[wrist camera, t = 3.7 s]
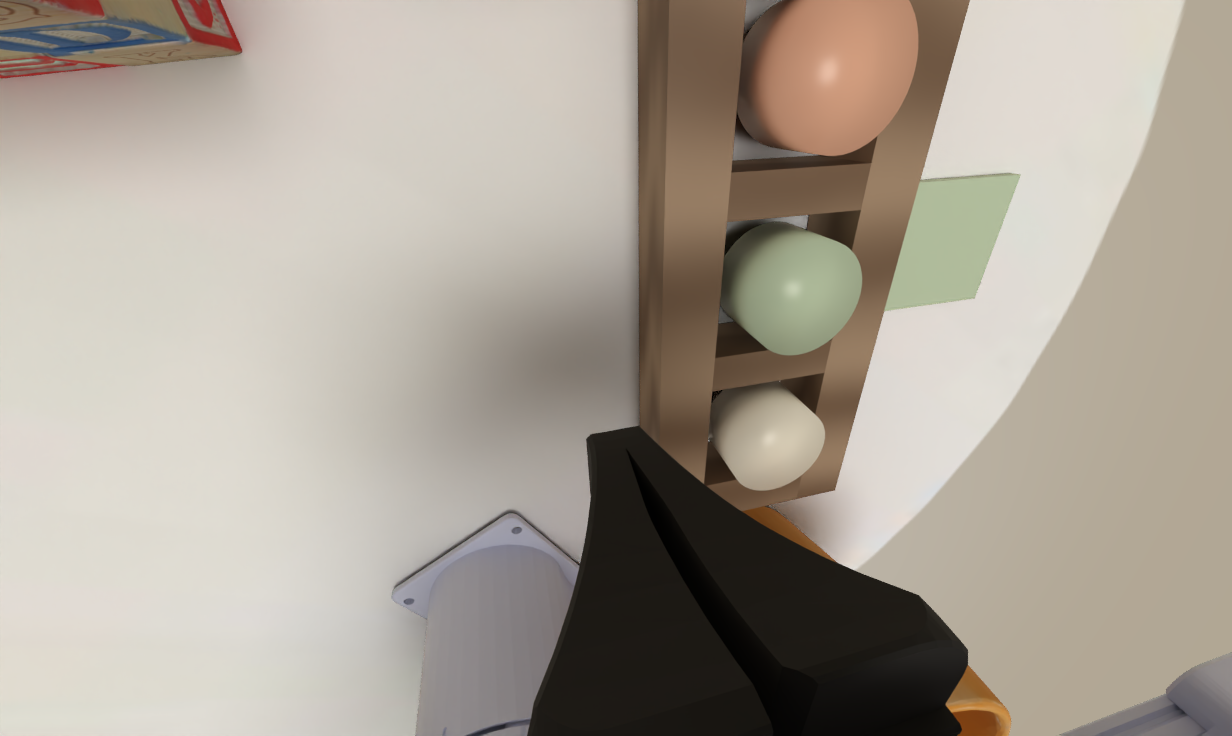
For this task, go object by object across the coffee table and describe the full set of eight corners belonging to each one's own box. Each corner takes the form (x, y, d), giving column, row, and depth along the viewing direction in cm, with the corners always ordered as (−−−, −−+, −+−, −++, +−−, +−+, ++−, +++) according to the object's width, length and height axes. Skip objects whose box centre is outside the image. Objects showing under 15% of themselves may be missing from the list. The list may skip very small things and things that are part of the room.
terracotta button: (836, 145, 17) (894, 152, 15) (727, 151, 17) (770, 160, 14) (864, -4, 15) (938, -25, 13) (740, -6, 14) (794, -29, 12)
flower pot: (571, 578, 28) (630, 886, 17) (757, 426, 26) (965, 667, 15) (699, 645, 35) (799, 890, 24) (853, 530, 33) (1041, 744, 22)
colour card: (966, 295, 25) (974, 298, 24) (868, 308, 24) (875, 312, 23) (1010, 173, 22) (1020, 174, 21) (901, 181, 21) (909, 183, 20)
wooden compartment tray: (802, 454, 28) (834, 490, 25) (639, 488, 26) (657, 530, 23) (922, -99, 16) (1007, -138, 13) (637, -117, 14) (673, -167, 11)
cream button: (781, 442, 24) (815, 480, 22) (702, 457, 23) (728, 499, 21) (795, 369, 22) (834, 401, 20) (708, 383, 21) (738, 419, 19)
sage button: (804, 318, 21) (847, 346, 18) (712, 331, 20) (745, 362, 18) (823, 217, 19) (874, 234, 16) (721, 226, 18) (759, 246, 15)
